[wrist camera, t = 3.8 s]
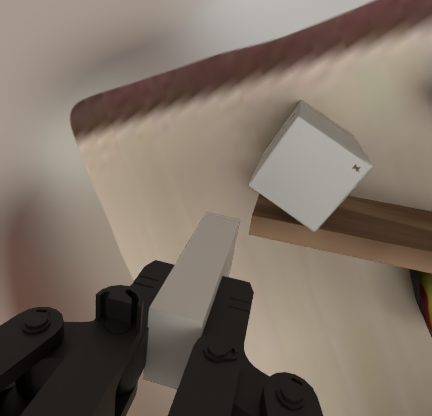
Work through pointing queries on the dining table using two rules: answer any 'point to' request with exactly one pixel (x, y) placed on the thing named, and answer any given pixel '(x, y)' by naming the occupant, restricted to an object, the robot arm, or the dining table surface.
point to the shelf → (356, 231)
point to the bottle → (423, 294)
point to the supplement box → (310, 167)
